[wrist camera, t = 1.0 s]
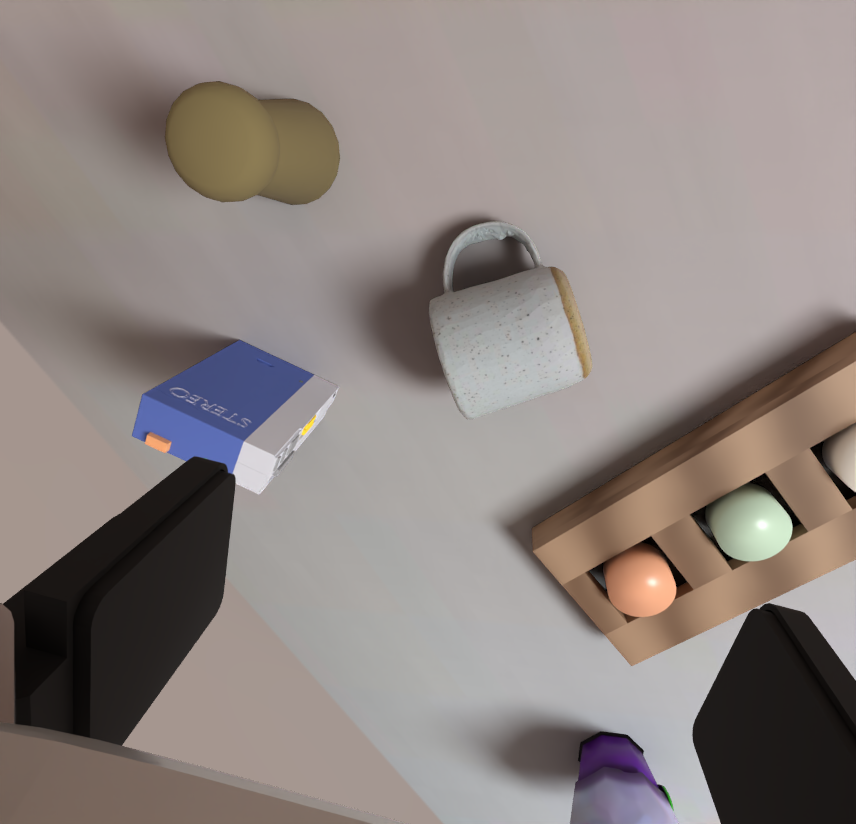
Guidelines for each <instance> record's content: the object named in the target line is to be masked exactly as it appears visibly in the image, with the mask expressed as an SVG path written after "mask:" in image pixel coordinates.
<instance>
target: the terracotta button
mask: <svg viewBox="0 0 856 824" xmlns="http://www.w3.org/2000/svg"><path fill="white" fill-rule="evenodd" d="M603 573H604V578H605V582H606V587H607V591H608V596H609V599H610V601H611V603H612V604H613V605H614V606H615V607H616V608H617V609H618V610H619V611H621V612H623V613H625V614H627V615H630V616H635V617H648V616H653V615H656V614H658V613H661V612H662V611H664V610H665V609H667V608H668V607H669V606H670V605H671V603H672V602H673V600H674V598H675V595H676V584H675V581H674V578H673V576H672V573H671V571H670V568H669V565H668V563H667V560H666V558H665V556H664V555H663V554H662V553H661V551H659V550H658V549H657V548H655V547H654V546H651V545H649V544H646V543H637V544H636V545H634V546H632V547H630V548H628V549H626V550H625V551H623V552H621V553H619V554H617V555H616V556H614V557H612V558H610V559H608V560H607V561H605V562H604V565H603Z"/></svg>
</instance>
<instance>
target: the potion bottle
mask: <svg viewBox="0 0 856 824" xmlns="http://www.w3.org/2000/svg"><path fill="white" fill-rule="evenodd" d="M643 752H644V750H643V749H642V748H641V747H639V746H638V745H637V744H636V743H635V742H634V741H633V740H632V739H631V738H630V737H629V736H628V735H624V734H616V733H608V732H599V733H598V734H596V735H594V736H592V737H590V738H588V739H586V740H584V741H582V742H581V743H580V750H579V758H578V761H579V762H580V769H579V777H578V781H577V782H576V783H575V791H574V798H573V805H572V812H571V820H570V824H679V822H678V820H677V818H676V816H675V814H674V810H673V804H672V801H671V798H670V796H669V794H668V792H667V790H666V788H665V787H664V786H662V785H657V783H656V781H655V779H654V777H653V775H652V773H651V771H650V769H649V767H648V765H647V763H646V760H645V758H644V756H643Z"/></svg>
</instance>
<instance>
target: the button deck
mask: <svg viewBox="0 0 856 824" xmlns="http://www.w3.org/2000/svg"><path fill="white" fill-rule="evenodd" d="M854 423H856V332H855V333H853V334H851V335H850V336H848V337H846V338H845V339H843V340H842V341H840V342H838V343H837V344H835V345H833V346H832V347H830V348H828V349H827V350H825V351H823V352H822V353H820V354H818V355H817V356H815V357H813V358H812V359H810V360H809V361H807V362H805V363H804V364H802V365H800V366H799V367H797V368H795V369H794V370H792V371H790V372H789V373H787V374H785V375H784V376H782V377H780V378H779V379H777V380H775V381H774V382H772V383H771V384H769V385H767V386H766V387H764V388H762V389H761V390H759V391H757V392H756V393H754V394H752V395H751V396H749V397H747V398H746V399H744V400H742V401H741V402H739V403H738V404H736V405H734V406H733V407H731V408H729V409H728V410H726V411H724V412H723V413H721V414H719V415H718V416H716V417H714V418H713V419H711V420H709V421H708V422H706V423H705V424H703V425H701V426H700V427H698V428H696V429H695V430H693V431H691V432H690V433H688V434H686V435H685V436H683V437H681V438H680V439H678V440H676V441H675V442H673V443H672V444H670V445H668V446H667V447H665V448H663V449H662V450H660V451H658V452H657V453H655V454H653V455H652V456H650V457H648V458H647V459H645V460H643V461H642V462H640V463H639V464H637V465H635V466H634V467H632V468H630V469H629V470H627V471H625V472H624V473H622V474H620V475H619V476H617V477H615V478H614V479H612V480H610V481H609V482H607V483H606V484H604V485H602V486H601V487H599V488H597V489H596V490H594V491H592V492H591V493H589V494H587V495H586V496H584V497H582V498H581V499H579V500H577V501H576V502H574V503H572V504H571V505H569V506H568V507H566V508H564V509H563V510H561V511H559V512H558V513H556V514H554V515H553V516H551V517H549V518H548V519H546V520H544V521H543V522H541V523H539V524H538V525H536V526H535V527H533V528H532V544H533V552H534V553H535V555H536V556H537V557H538V558H539V559H540V560H541V562H542V563H543V564H544V565H545V566H546V567H547V569H548V570H549V571H550V572H551V573H552V574H553V576H554V577H555V578H556V579H557V580H558V581H559V583H560V584H561V585H562V586H563V587H564V588H565V590H566V591H567V592H568V593H569V594H570V595H571V596H572V598H573V599H574V600H575V601H576V602H577V603H578V605H579V606H580V607H581V608H582V609H583V610H584V612H585V613H586V614H587V615H588V616H589V617H590V619H591V620H592V621H593V622H594V623H595V624H596V626H597V627H598V628H599V629H600V630H601V631H602V632H603V634H604V635H605V636H606V637H607V638H608V639H609V641H610V642H611V643H612V644H613V645H614V646H615V648H616V649H617V650H618V651H619V652H620V653H621V655H622V656H623V657H624V658H625V659H626V660H627V662H628V663H629V664H630V665H631V666H633V665H635V664H637V663H639V662H642V661H644V660H646V659H648V658H650V657H652V656H654V655H656V654H658V653H660V652H663V651H665V650H667V649H669V648H671V647H673V646H675V645H677V644H679V643H681V642H684V641H686V640H688V639H690V638H692V637H694V636H696V635H698V634H700V633H702V632H705V631H707V630H709V629H711V628H713V627H715V626H717V625H719V624H721V623H723V622H726V621H728V620H730V619H732V618H734V617H736V616H738V615H740V614H742V613H744V612H747V611H749V610H751V609H753V608H755V607H757V606H759V605H761V604H763V603H765V602H768V601H770V600H772V599H774V598H776V597H778V596H780V595H782V594H784V593H786V592H789V591H791V590H793V589H795V588H797V587H799V586H801V585H803V584H805V583H807V582H810V581H812V580H814V579H816V578H818V577H820V576H822V575H824V574H826V573H828V572H831V571H833V570H835V569H837V568H839V567H841V566H843V565H845V564H847V563H849V562H851V561H854V560H856V496H854V497H852V498H850V499H848V500H845V498H844V497H843V495H842V494H841V493H840V491H839V490H838V488H837V487H836V485H835V484H834V482H833V481H832V480H831V478H830V477H829V475H828V474H827V472H826V471H825V470H824V468H823V467H822V465H821V464H820V462H819V461H818V460H817V458H816V457H815V455H814V454H813V452H812V451H811V450H810V447H812V446H814V445H816V444H818V443H820V442H821V441H823V440H825V439H827V438H829V437H830V436H832V435H834V434H836V433H838V432H839V431H841V430H843V429H845V428H847V427H848V426H850V425H852V424H854ZM764 473H765V474H766V475H767V477H768V478H769V480H770V481H771V482H772V484H773V485H774V486H775V488H776V489H777V491H778V492H779V493H780V495H781V496H782V497H783V499H784V500H785V502H786V503H787V504H788V506H789V507H790V508H791V510H792V511H793V513H794V514H795V515H796V517H797V518H798V519H799V521H800V522H801V524H800V525H798V526H796V527H794V528H792V535H791V538H790V540H789V542H788V543H787V545H786V546H785V547H784V548H783V549H782V550H781V551H780V552H779V553H777V554H776V555H774V556H772V557H770V558H767V559H764V560H760V561H742V560H738V559H735V558H733V559H731V560H729V561H727V560H726V559H725V558H724V556H723V555H722V554H721V553H720V551H719V550H718V549H717V547H716V546H715V545H714V544H713V542H712V541H711V540H710V538H709V537H708V536H707V535H706V533H705V532H704V531H703V529H702V528H701V527H700V525H699V524H698V523H697V522H696V520H695V519H694V518H693V516H692V515H691V513H693V512H695V511H697V510H699V509H700V508H702V507H704V506H706V505H708V504H709V503H711V502H713V501H715V500H717V499H718V498H720V497H722V496H724V495H726V494H728V493H729V492H731V491H733V490H735V489H737V488H738V487H740V486H742V485H744V484H746V483H747V482H749V481H751V480H753V479H755V478H756V477H758V476H760V475H762V474H764ZM650 536H651V537H652V538H653V539H654V540H655V542H656V543H657V544H658V545H659V547H660V548H661V549H662V550H663V552H664V553H665V554H666V555H667V557H668V558H669V559H670V560H671V562H672V563H673V564H674V565H675V567H676V568H677V569H678V570H679V572H680V573H681V574H682V575H683V577H684V578H685V579H686V580H687V583H685V584H683V585H681V586H679V587H677V588H676V595H675V598H674V600H673V602H672V603H671V605H670V606H669V607H668V608H667V609H665V610H664V611H662V612H661V613H658V614H656V615H653V616H648V617H635V616H630V615H627V614H625V613H623V612H621V611H619V610H618V609H617V608H616V607H615V606H614V605H613V604H612V603H611V601H610V599H609V596H608V593H607V592H606V590H605V589H604V588H603V587H602V586H601V585H600V583H599V582H598V581H597V580H596V579H595V577H594V576H593V575H592V574H591V573H590V571H589V570H590V569H592V568H594V567H596V566H598V565H599V564H601V563H603V562H605V561H607V560H608V559H610V558H612V557H614V556H616V555H617V554H619V553H621V552H623V551H625V550H626V549H628V548H630V547H632V546H634V545H636V544H637V543H639V542H641V541H643V540H645V539H646V538H648V537H650Z"/></svg>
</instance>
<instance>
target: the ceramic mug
mask: <svg viewBox="0 0 856 824" xmlns="http://www.w3.org/2000/svg"><path fill="white" fill-rule="evenodd" d="M506 236H510V237H513V238H515V239H516V240H517V241H519V242H520V243H522V244H523V245H524V246H525V247H526V249H527V251H528V252H529V253H530V255H531V257H532V259H533V261H534V264H535V268H534V269H531V270H527V271H523V272H520V273H517V274H514V275H511V276H508V277H505V278H502V279H499V280H496V281H492V282H488V283H484V284H481V285H477V286H473V287H470V288H466V289H463V290H460V291H456V292H453V282H452V277H453V269H454V264H455V261H456V259H457V256H458V255H459V253H460V251H461V250H462V249H464V248H466V247H467V246H468V245H470V244H473V243H477V242H481V241H485V240H490V239H499V240H502V239H504V238H505V237H506ZM443 287H444V294H443V295H442V296H438V297H436V298H433V299H432V300H431V301H430V304H429V316H430V323H431V328H432V333H433V337H434V341H435V345H436V350H437V353H438V356H439V361H440V363H441V366H442V369H443V372H444V375H445V378H446V380H447V383H448V386H449V388H450V390H451V393H452V396H453V398H454V401H455V403H456V405H457V407H458V409H459V411H460V412H461V413H462V414H463V416H464V417H465V418H466V419H475V418H478V417H481V416H484V415H487V414H489V413H492V412H496V411H498V410H501V409H505V408H508V407H511V406H514V405H517V404H520V403H523V402H526V401H529V400H531V399H534V398H537V397H540V396H543V395H547V394H550V393H553V392H556V391H559V390H562V389H565V388H568V387H570V386H572V385H574V384H576V383H578V382H580V381H582V380H583V379H585V378H586V377H587V376H588V375H589V373H590V372H591V369H592V359H591V354H590V349H589V345H588V342H587V338H586V333H585V329H584V326H583V323H582V320H581V316H580V313H579V310H578V307H577V304H576V301H575V298H574V295H573V292H572V289H571V286H570V284H569V281H568V279H567V277H566V275H565V273H564V272H563V271H561V270H559V269H558V268H556V267H544V266H543V265H542V262H541V259H540V255H539V253H538V250H537V248H536V246H535V245H534V243H533V241H532V240H531V239H530V238H529V236H528V235H527V234H526V233H525V232H524V231H523V230H522V229H520V228H518V227H516V226H514V225H512V224H509V223H506V222H501V221H491V222H485V223H481V224H478V225H474V226H472V227H470V228H468V229H466V230H464V231H463V232H461V233H460V234H459V235H458V236H457V237H456V239H455V240H454V241H453V243H452V244H451V246H450V248H449V250H448V253H447V256H446V258H445V262H444V269H443Z"/></svg>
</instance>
